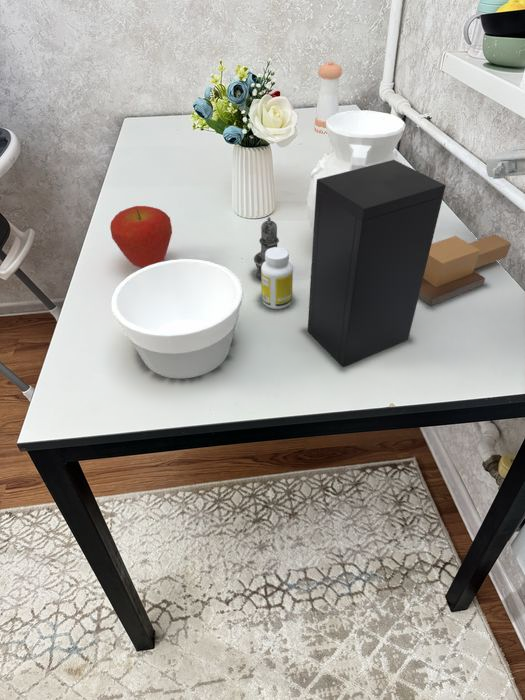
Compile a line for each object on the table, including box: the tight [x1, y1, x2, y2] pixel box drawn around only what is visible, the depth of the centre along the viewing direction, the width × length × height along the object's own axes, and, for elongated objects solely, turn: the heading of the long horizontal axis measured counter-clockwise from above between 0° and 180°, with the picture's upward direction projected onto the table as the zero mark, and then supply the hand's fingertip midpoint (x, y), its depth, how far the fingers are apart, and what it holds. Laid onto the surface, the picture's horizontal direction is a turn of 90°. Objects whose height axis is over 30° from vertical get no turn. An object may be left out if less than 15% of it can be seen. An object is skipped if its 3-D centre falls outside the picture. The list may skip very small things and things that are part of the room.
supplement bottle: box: [261, 246, 294, 310], centre depth 85 cm, size 5×5×10 cm
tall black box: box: [307, 160, 447, 368], centre depth 72 cm, size 10×13×26 cm
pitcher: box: [306, 109, 406, 234], centre depth 92 cm, size 19×18×25 cm
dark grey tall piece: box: [253, 216, 280, 282], centre depth 90 cm, size 6×6×12 cm
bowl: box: [110, 258, 244, 380], centre depth 75 cm, size 19×19×11 cm
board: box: [418, 270, 486, 307], centre depth 91 cm, size 10×13×2 cm
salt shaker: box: [314, 60, 343, 135], centre depth 148 cm, size 7×7×19 cm
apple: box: [109, 205, 173, 269], centre depth 93 cm, size 11×11×12 cm
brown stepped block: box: [423, 234, 512, 287], centre depth 91 cm, size 6×19×5 cm, turn 119°
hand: (522, 172), depth 82 cm, fingers open, 8 cm apart
